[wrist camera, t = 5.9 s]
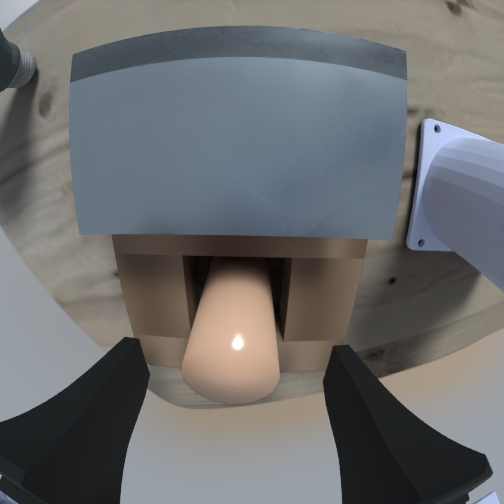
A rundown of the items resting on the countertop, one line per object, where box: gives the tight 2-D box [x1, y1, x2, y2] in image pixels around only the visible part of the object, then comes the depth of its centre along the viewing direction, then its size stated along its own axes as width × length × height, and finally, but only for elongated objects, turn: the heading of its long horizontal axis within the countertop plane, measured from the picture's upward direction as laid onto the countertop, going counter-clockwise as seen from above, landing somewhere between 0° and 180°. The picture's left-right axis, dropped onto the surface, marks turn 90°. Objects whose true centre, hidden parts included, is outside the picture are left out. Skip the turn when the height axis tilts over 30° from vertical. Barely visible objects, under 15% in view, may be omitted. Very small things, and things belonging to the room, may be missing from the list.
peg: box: [181, 256, 280, 404], centre depth 13 cm, size 3×3×8 cm
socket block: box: [112, 234, 368, 372], centre depth 14 cm, size 12×13×3 cm
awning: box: [69, 26, 407, 240], centre depth 10 cm, size 10×6×7 cm, turn 89°
